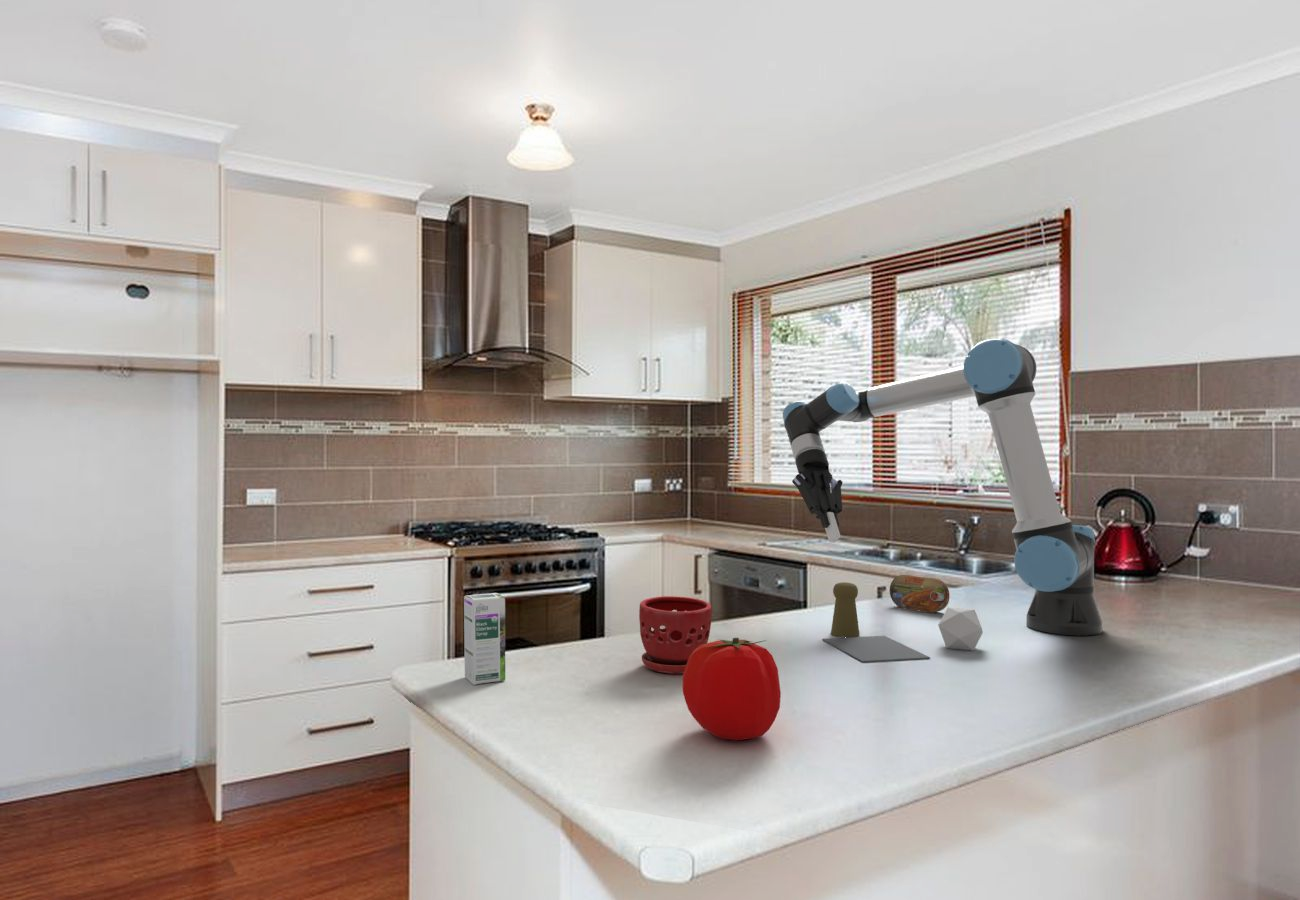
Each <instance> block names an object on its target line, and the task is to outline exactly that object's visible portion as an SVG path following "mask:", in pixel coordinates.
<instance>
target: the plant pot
mask: <svg viewBox="0 0 1300 900" xmlns="http://www.w3.org/2000/svg"><path fill="white" fill-rule="evenodd" d="M638 612H639V614H638V615H639V618H638V619H639V633H640V638H641V644H642V646H643V648H644V651H645V652H644V653H642V655H641V662H642V663H643V665H644V666H645V667H647V668H648V669H650V670H651V671H655V672H658V673H664V674H670V675H671V674H673V675H675V674H676V675H679V674H684V671H685V668H686V665H687V661H688V658H689V657H690V656H691V654H692V653H693V652H694V650H695V649H696V648H698V647H699V646H700V645H703V644H706V643H709V642H708V641H709V638H710V633H711V625H712V605H711V604H710V602H707V601H705V600H703V599H699V598H696V597H695V598H694V597H687V596H676V595H675V596H672V595H671V596H669V595H667V596H666V595H665V596H655V597H650V598H646V599H643V600H641V601H640V603H639V610H638ZM663 626H664V628H661V627H663ZM652 629H653V630H652Z"/></svg>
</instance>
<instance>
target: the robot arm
mask: <svg viewBox="0 0 1300 900" xmlns="http://www.w3.org/2000/svg"><path fill="white" fill-rule="evenodd" d="M1036 375H1037V362H1036V360H1035V357H1034V356H1033V354H1032V353H1031V352H1030V350H1028V349H1027V348H1026V347H1024V346H1022V345H1020V344H1016V343H1014V342H1012V341H1010V340H1008V339H1004V338H991V339H986V340H983V341H980V342H978V343H977V344H975V345H974V346H973V347H972V348H971V349H970V350H969V351H968V353H967V355H966V356H965V358H964V362H963V365H961V366H957V367H954V368H949V369H946V370H941V371H936V372H933V373H928V374H924V375H920V376H914V377H910V378H906V379H902V380H899V381H894V382H889V383H885V384H880V385H877V386H872V387H868V388H864V389H863V388H862V389H859V390H855V388H853V386H852V385H851V384H849V383H848V382H846V381H839V382H838V383H836V384H834V385H831V386H830V387H828V388H827V389H826V390H825V391H823V393H821V394H819V395H818V396H817V397H815V398H813V399H812V400H810V401H809V402H807V401H805V400H804V401H803V400H796V401H795V402H794V403H793V402H791V403H789V404H787V405H786V406H785V408H784V409H783V411H782V419H783V425H784V428H785V431H786V434H787V437H788V440H789V444H790V448H791V452H792V455H793V459H794V463H795V465H796V469H797V474H796V475H795V477H794V478H793V479H792V480H791V482H792V484H793V485H794V486H795V487H796V488H797V489H798V492H799V493H800V495H801V498H802V499H803V502H804V503H805V505H806V507H807V509H808V511H809V513H810V514H811V515H816V516H815V518H816V519H817V520H820V524H821V526H822V528H824V529H825V530H824V531H825V532H826V537H827V539H828V543H834V544H835V543H836V542H837V541H838V540H839V539H840V538H841V533H840V530H839V526H840V523H839V520H838V516H839V515H840V514H841V513H842V512H843V499H842V485H843V481H842V480H841V479H838V480H836V479H834V478H833V474H832V473H831V472H830V469H829V468H830V464H829V460H828V457H827V454H826V452H825V447H824V444H823V442H822V438H821V436H820V432H821V431H823V430H824V429H827V428H828V427H829V426H831V425H833V424H835V422H837V421H839V422H842V421H843V422H853V423H861V422H865V421H868V420H869V419H873V418H876V417H881V416H886V415H891V414H896V413H901V412H906V411H911V410H916V409H920V408H925V407H930V406H935V405H937V404H938V405H939V404H943V403H949V402H954V401H958V400H962V399H968V398H973V397H975V400H976V403H977V407H978V409H979V410H981V411H983V412H984V413H986V414H987V416H988V419H989V422H990V426H991V431H992V434H993V438H994V441H995V445H996V448H997V453H998V455H999V460H1000V464H1001V467H1002V471H1003V475H1004V479H1005V482H1006V486H1007V490H1008V494H1009V497H1010V501H1011V503H1012V508H1013V512H1014V516H1015V520H1016V523H1015V525H1014V527H1013V528H1012V530H1011V533H1012V537H1013V541H1014V545H1015V549H1016V550H1015V553H1014V568H1015V570H1016V573H1017V575H1018V577H1019V578H1020V579H1021V581H1023V583H1025V585H1027V586H1029V587H1031V588H1032V589H1034V594H1033V597H1032V599H1031V603H1030V605H1029V608H1028V610H1027V613H1026V618H1025V620H1026V621H1025V622H1026V626H1027V627H1028V628H1029V629H1032V630H1036V631H1040V632H1043V633H1045V632H1046V633H1049V634H1057V635H1066V636H1094V635H1095V636H1096V635H1100V634H1102V633H1103V619H1102V617H1101V615H1100V611H1099V608H1098V605H1097V603H1096V600H1095V596H1094V595H1095V594H1094V593H1095V591H1094V586H1095V585H1094V583H1095V581H1094V580H1095V579H1094V578H1095V544H1096V539H1095V532H1094V530H1093V528H1091V527H1089V526H1086V525H1078V524H1077V525H1076V524H1072V519H1070V518H1068V517H1067V516H1065V515H1063V513H1061V510H1060V506H1059V503H1058V500H1057V495H1056V493H1055V488H1054V484H1053V482H1052V479H1051V474H1050V470H1049V466H1048V463H1047V460H1046V456H1045V453H1044V452H1045V451H1044V449H1043V445H1042V442H1041V438H1040V434H1039V430H1038V427H1037V422H1036V420H1035V416H1034V413H1033V409H1032V406H1031V405H1032V404H1031V403H1032V401H1033V399H1034V397H1035V396H1036V391H1035V387H1034V383H1033V382H1034V380H1035V378H1036Z"/></svg>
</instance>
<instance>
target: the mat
mask: <svg viewBox="0 0 1300 900" xmlns="http://www.w3.org/2000/svg"><path fill="white" fill-rule="evenodd" d="M822 641H823V642H825V643H827V644H829V645H831V646H832V647H834V648H836V649H837V650H839V651H841V652H843V653H845V654H846V655H848V656H850V657H852V658H853V659H855V660H857V661H858V662H860V663H877V662H895V661H896V662H897V661H898V662H899V661H916V660H931V656H928V655H926V654H924V653H923V652H920V651H918V650H915V649H914V648H911V647H909V646H907V645H905V644H903V643H901V642H899V641H897V640H894V639H892V638H890V637H888V636H886V635H870V636H858V637H846V638H845V637H833V638H831V637H830V638H829V637H828V638H827V637H826V638H822Z"/></svg>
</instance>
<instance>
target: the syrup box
mask: <svg viewBox="0 0 1300 900" xmlns="http://www.w3.org/2000/svg"><path fill="white" fill-rule="evenodd" d="M463 620H464V621H463V629H464V630H463V632H464V633H463V635H464V637H463V638H464V642H463V643H464V645H463V646H464V678H465V679H466V680H467V681H468V682H469V683H470V684H471V685H473V686H475V685H481V684H488V683H489V684H490V683H496V682H504V681H506V598H505V597H504V596H503V595H502V594H500V593H498V592H492V593H480V594H470V595H464V596H463Z"/></svg>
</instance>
